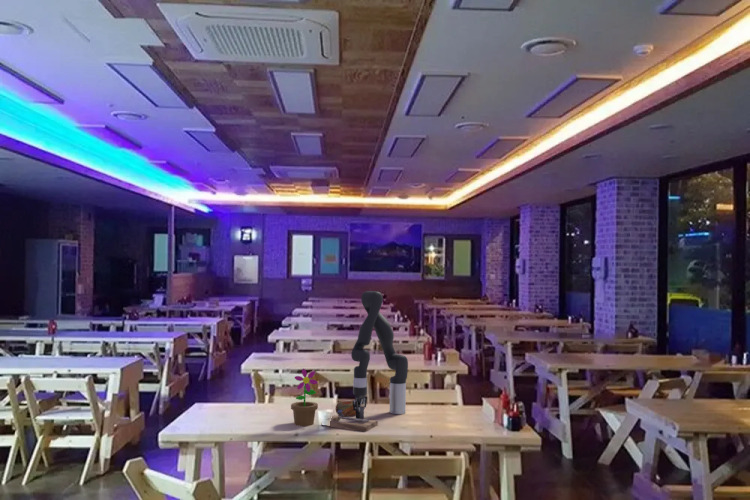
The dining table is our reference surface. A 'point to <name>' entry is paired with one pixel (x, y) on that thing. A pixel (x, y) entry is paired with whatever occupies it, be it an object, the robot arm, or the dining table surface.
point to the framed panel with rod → (352, 426)
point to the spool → (361, 412)
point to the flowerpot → (305, 410)
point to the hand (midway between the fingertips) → (359, 417)
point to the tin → (345, 408)
